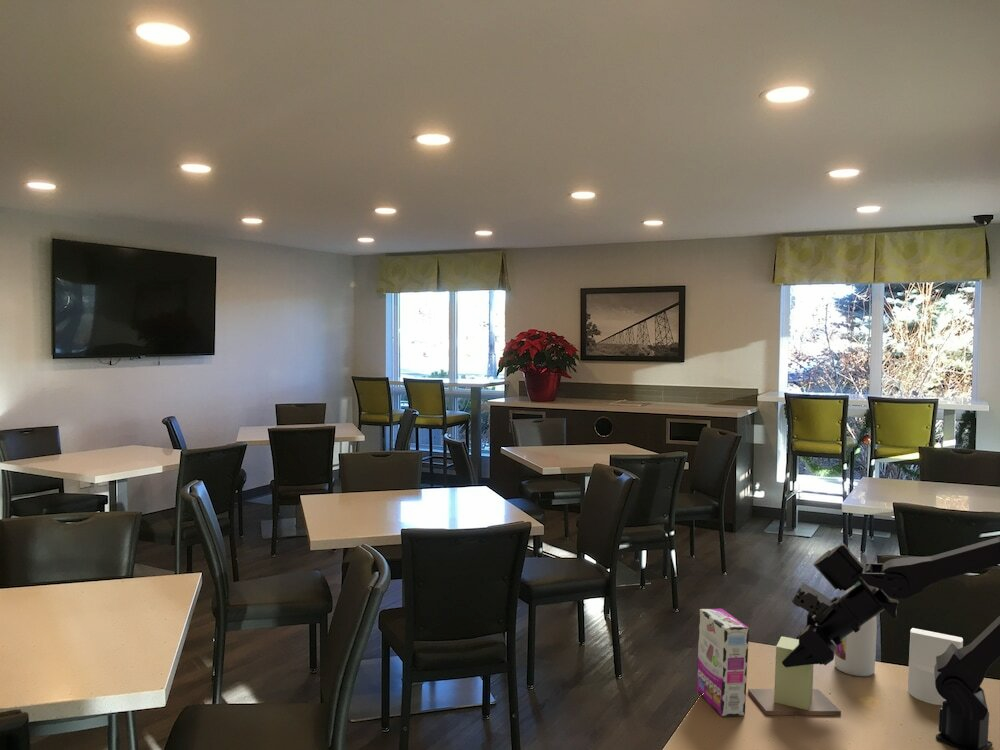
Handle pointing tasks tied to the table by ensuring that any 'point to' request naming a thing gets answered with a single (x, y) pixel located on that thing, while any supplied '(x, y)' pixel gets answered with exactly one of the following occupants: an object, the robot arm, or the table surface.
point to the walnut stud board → (769, 707)
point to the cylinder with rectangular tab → (927, 662)
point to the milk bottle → (858, 649)
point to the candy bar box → (722, 661)
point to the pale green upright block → (792, 678)
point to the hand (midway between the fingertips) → (787, 656)
